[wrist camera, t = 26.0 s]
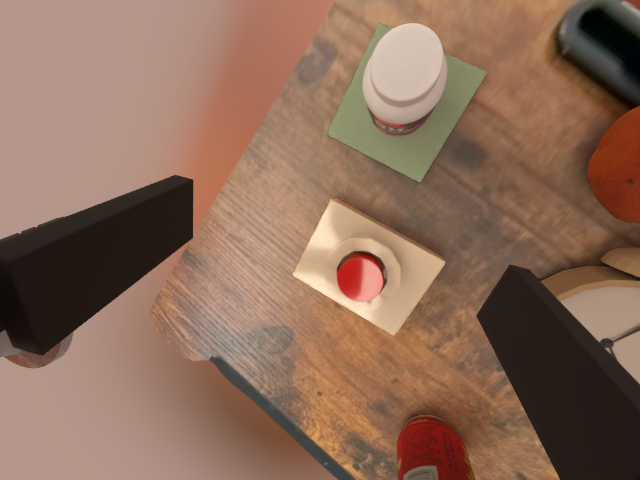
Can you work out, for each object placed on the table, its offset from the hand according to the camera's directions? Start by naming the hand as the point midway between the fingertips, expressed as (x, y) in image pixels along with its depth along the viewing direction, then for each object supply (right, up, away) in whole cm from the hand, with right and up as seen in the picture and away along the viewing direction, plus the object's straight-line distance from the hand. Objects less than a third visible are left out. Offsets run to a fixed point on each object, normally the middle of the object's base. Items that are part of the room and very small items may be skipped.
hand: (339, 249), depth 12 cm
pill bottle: (+6, +12, +13) cm, 19 cm away
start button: (+3, -3, +14) cm, 15 cm away
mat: (+7, +12, +14) cm, 20 cm away
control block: (+4, -2, +17) cm, 18 cm away
